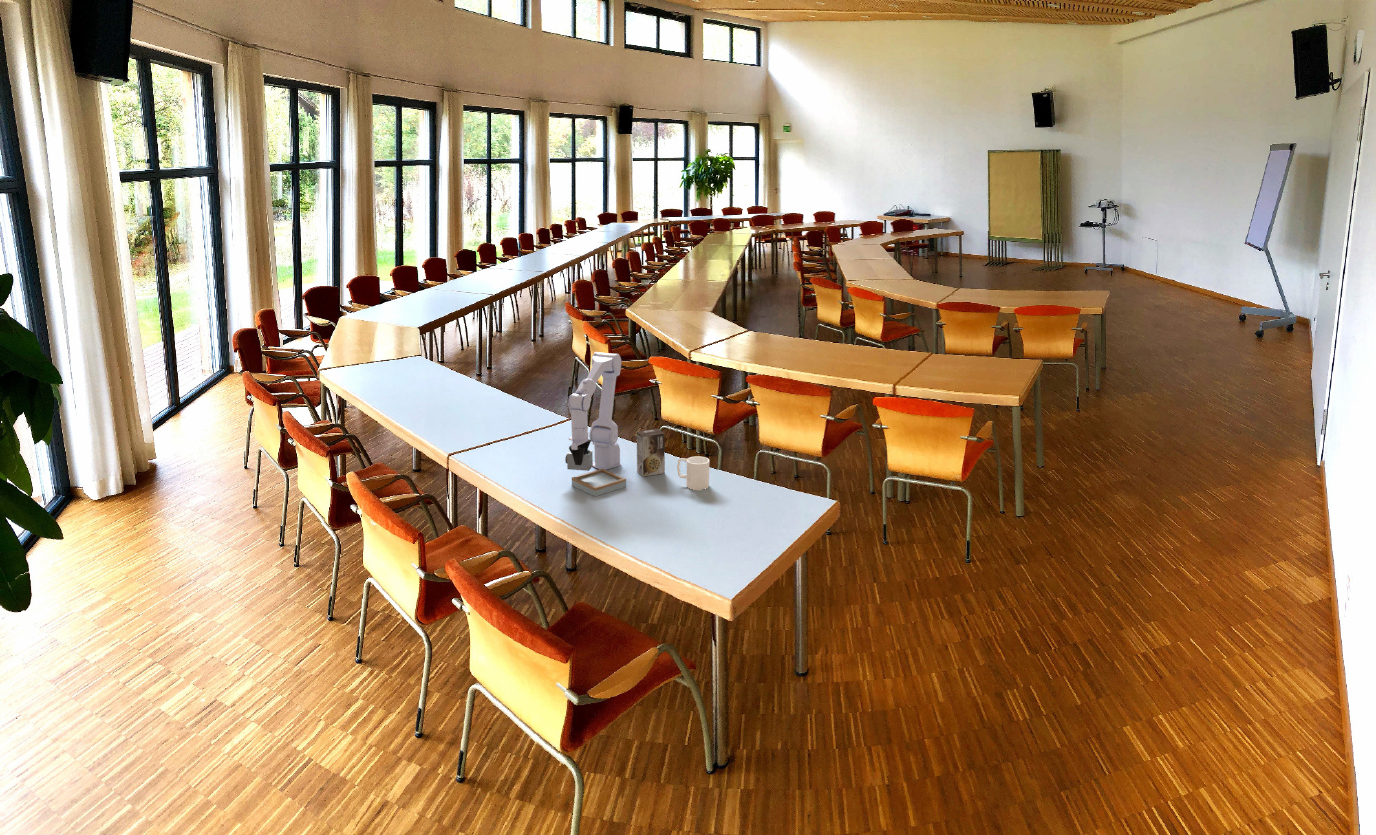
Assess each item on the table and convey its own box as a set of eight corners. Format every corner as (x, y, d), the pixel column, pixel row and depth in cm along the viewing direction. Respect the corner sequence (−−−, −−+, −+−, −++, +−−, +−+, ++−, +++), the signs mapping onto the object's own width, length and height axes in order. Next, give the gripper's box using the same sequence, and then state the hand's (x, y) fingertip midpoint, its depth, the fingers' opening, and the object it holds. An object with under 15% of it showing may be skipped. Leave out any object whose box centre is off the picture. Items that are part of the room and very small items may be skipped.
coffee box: (658, 468, 337) (658, 428, 333) (665, 473, 332) (665, 433, 327) (636, 471, 334) (636, 431, 329) (642, 477, 328) (642, 436, 323)
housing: (592, 466, 321) (592, 450, 319) (588, 470, 316) (588, 455, 314) (568, 464, 322) (568, 449, 321) (564, 469, 318) (564, 453, 316)
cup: (680, 479, 326) (680, 454, 323) (711, 483, 323) (712, 457, 320) (673, 487, 319) (673, 461, 316) (705, 491, 315) (706, 465, 312)
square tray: (602, 476, 329) (602, 468, 328) (626, 486, 319) (626, 478, 318) (571, 485, 320) (571, 477, 319) (595, 496, 310) (595, 488, 309)
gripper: (574, 419, 322) (575, 454, 326) (562, 431, 308) (563, 468, 312) (593, 421, 321) (594, 456, 325) (582, 433, 307) (582, 469, 311)
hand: (580, 462), depth 318 cm, fingers closed on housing, 5 cm apart
